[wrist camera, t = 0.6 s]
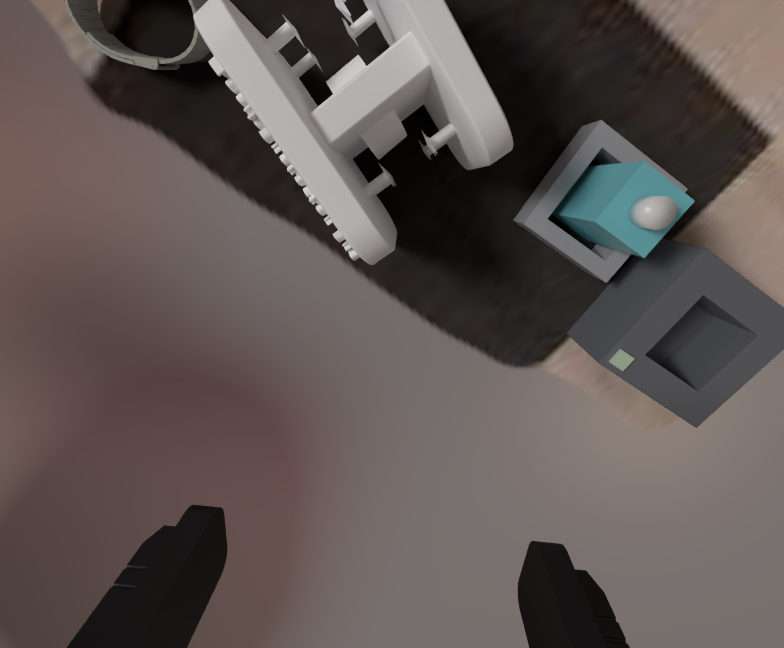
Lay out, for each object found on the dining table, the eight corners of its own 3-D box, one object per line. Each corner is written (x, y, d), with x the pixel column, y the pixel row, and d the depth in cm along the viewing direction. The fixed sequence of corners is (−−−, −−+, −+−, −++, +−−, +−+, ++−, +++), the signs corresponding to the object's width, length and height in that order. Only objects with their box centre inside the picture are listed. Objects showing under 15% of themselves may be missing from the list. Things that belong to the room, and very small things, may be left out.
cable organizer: (487, 168, 30) (534, 159, 19) (375, 246, 32) (360, 278, 21) (374, -31, 26) (352, -188, 15) (256, 74, 28) (162, 5, 17)
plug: (583, 166, 29) (660, 159, 21) (622, 196, 30) (714, 202, 21) (548, 212, 31) (607, 224, 22) (587, 240, 31) (659, 262, 22)
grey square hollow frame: (581, 126, 29) (601, 120, 26) (661, 188, 30) (687, 189, 27) (512, 220, 31) (523, 223, 28) (588, 274, 32) (606, 282, 29)
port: (651, 236, 31) (709, 248, 25) (738, 302, 33) (812, 328, 27) (566, 333, 34) (600, 364, 28) (650, 389, 36) (698, 430, 30)
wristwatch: (223, -21, 26) (184, -65, 22) (226, 85, 29) (191, 66, 24) (89, -38, 26) (20, -86, 22) (102, 69, 28) (42, 47, 24)
